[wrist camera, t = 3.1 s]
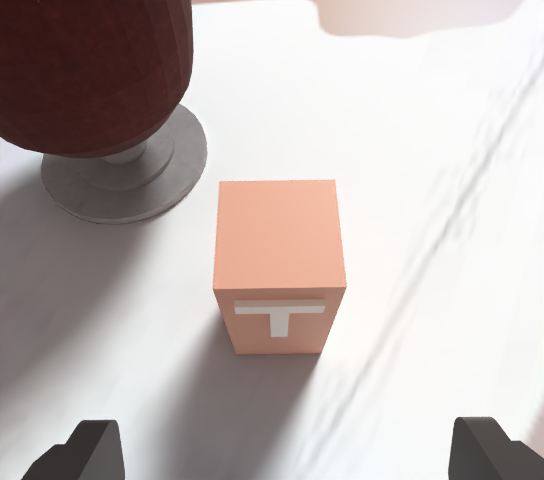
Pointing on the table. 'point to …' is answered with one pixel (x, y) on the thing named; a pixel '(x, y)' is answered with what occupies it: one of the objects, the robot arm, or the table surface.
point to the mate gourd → (103, 102)
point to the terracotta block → (278, 264)
